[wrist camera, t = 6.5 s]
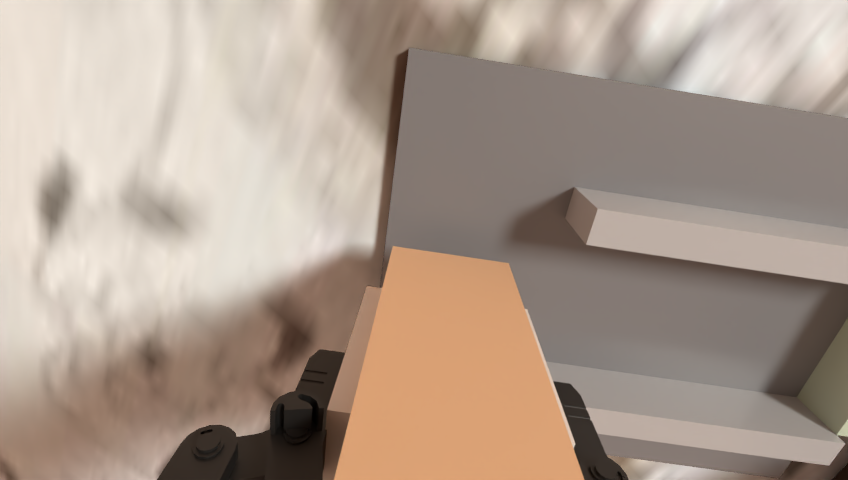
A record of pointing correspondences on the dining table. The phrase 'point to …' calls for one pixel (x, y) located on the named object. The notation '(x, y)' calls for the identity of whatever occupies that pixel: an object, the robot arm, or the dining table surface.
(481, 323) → the block
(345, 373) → the robot arm
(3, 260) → the dining table surface
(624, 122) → the end holder
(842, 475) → the wooden barrel
